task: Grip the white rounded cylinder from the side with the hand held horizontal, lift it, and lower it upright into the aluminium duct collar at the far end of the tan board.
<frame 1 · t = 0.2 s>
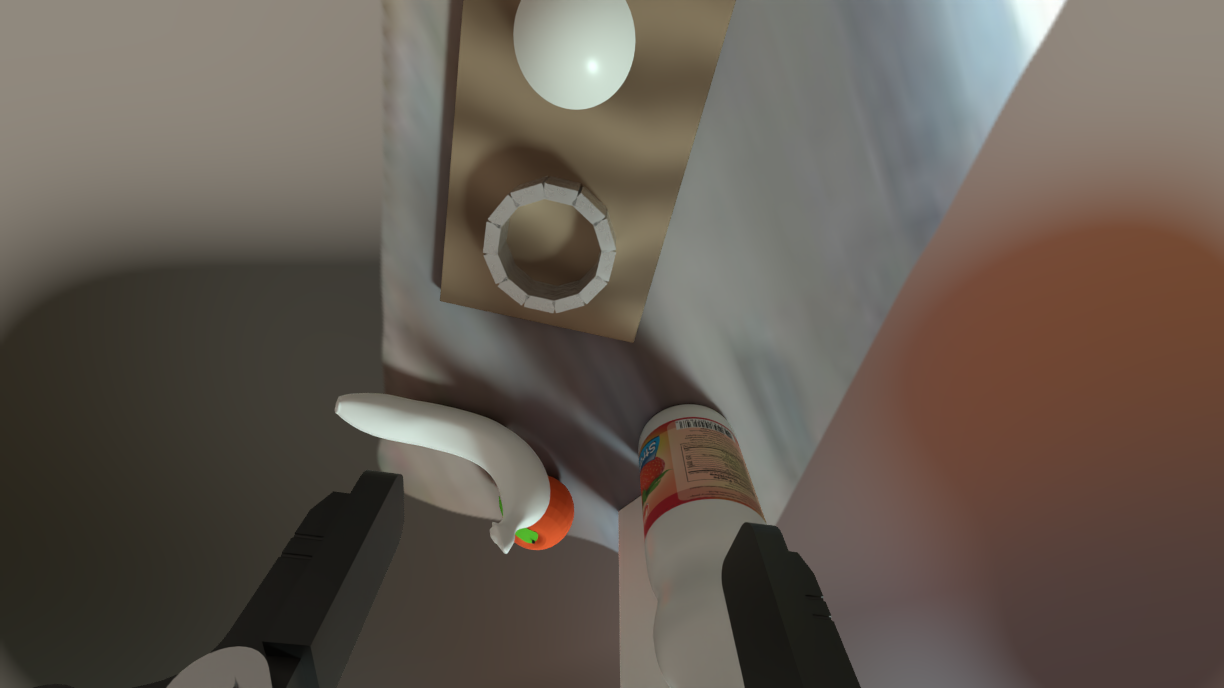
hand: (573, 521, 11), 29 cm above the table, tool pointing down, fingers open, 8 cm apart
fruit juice: (685, 438, 47), on the table
milk: (656, 509, 51), on the table
white rounded cylinder: (588, 59, 30), point 1 cm above the table, touching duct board
white bird figurine: (463, 412, 45), on the table
clementine: (539, 481, 49), on the table
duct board: (571, 155, 34), on the table
duct collar: (556, 235, 37), resting on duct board
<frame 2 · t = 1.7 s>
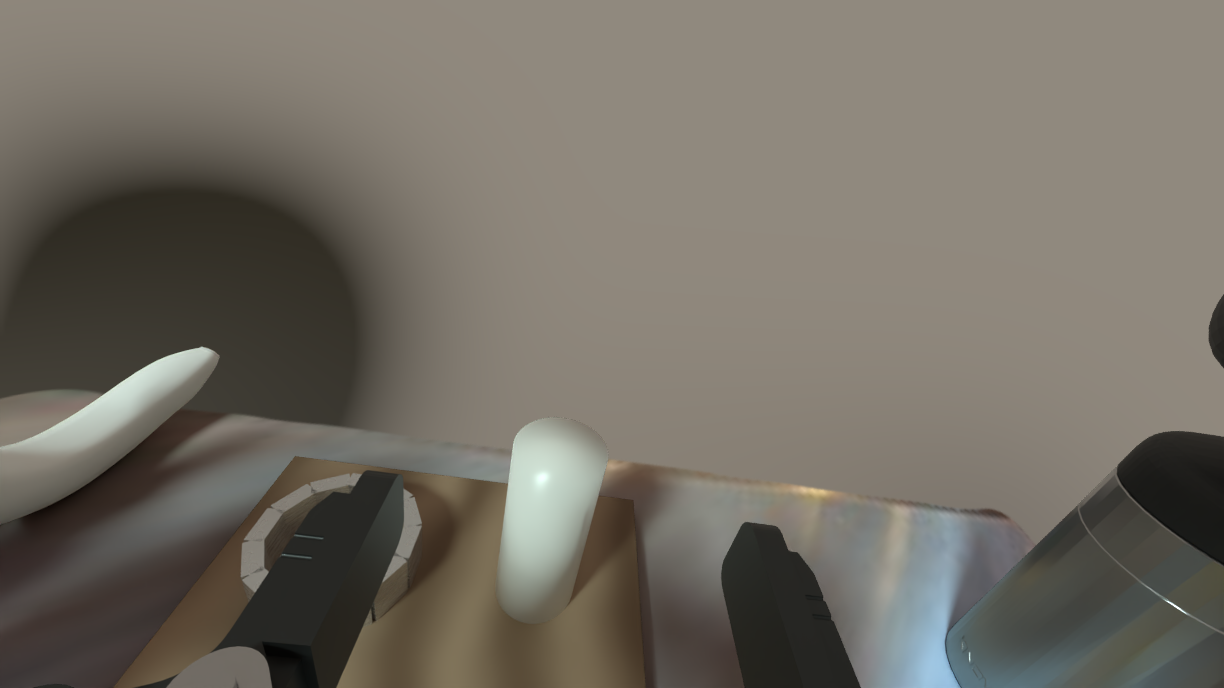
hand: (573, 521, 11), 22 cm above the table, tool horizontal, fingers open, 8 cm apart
white rounded cylinder: (534, 584, 31), point 1 cm above the table, touching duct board
white bird figurine: (95, 476, 33), on the table
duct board: (439, 588, 31), on the table
duct collar: (343, 578, 30), resting on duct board
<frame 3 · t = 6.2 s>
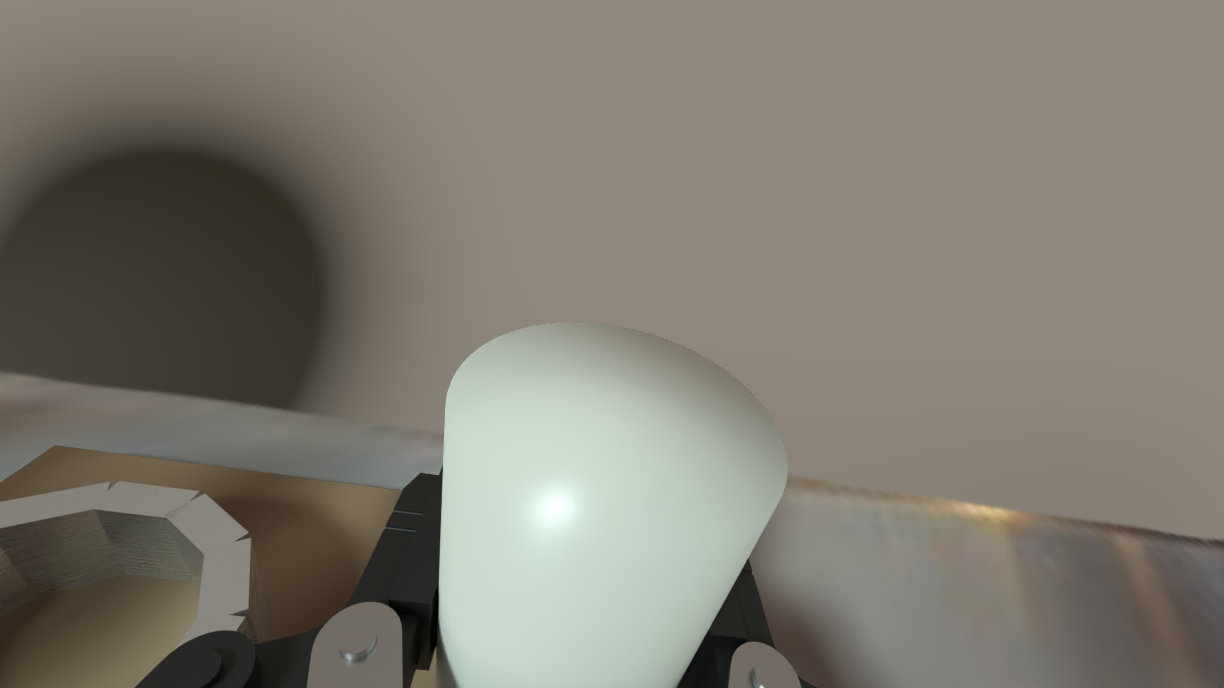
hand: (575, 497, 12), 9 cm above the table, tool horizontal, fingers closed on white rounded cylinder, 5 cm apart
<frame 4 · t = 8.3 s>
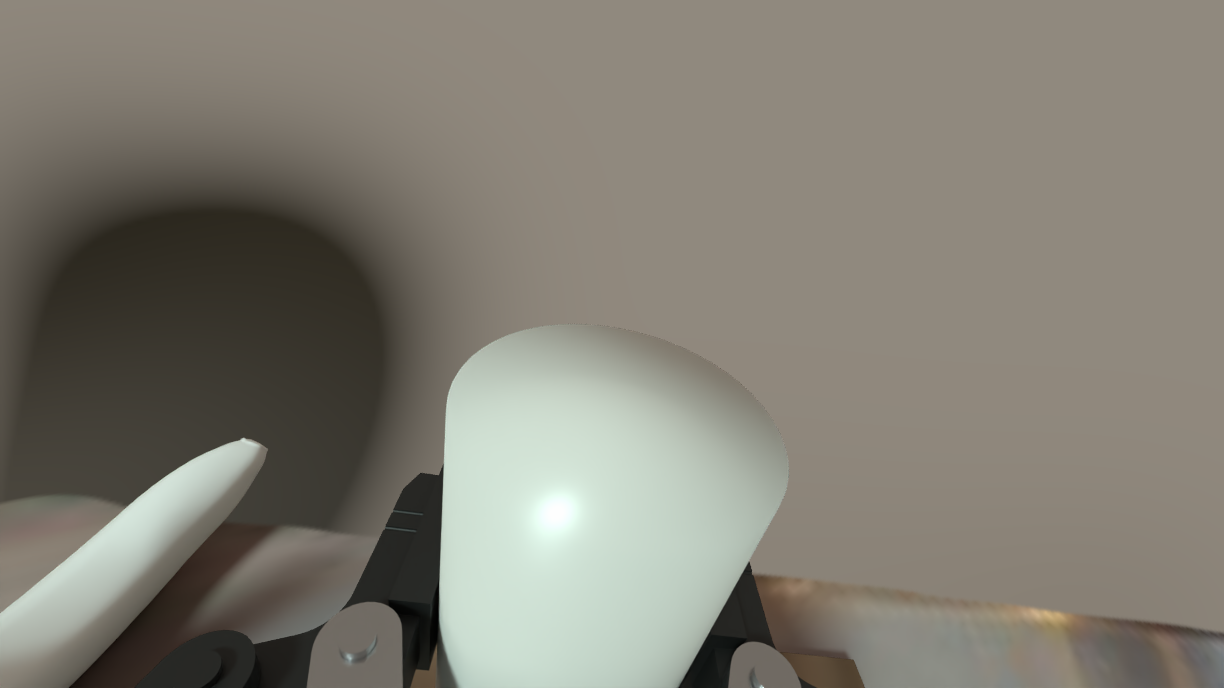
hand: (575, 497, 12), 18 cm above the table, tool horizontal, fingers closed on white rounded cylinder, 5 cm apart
white bird figurine: (91, 656, 22), on the table
when the fingers open (10 cm above the table, at t = 10.4 s): white rounded cylinder drops 1 cm, resting on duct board.
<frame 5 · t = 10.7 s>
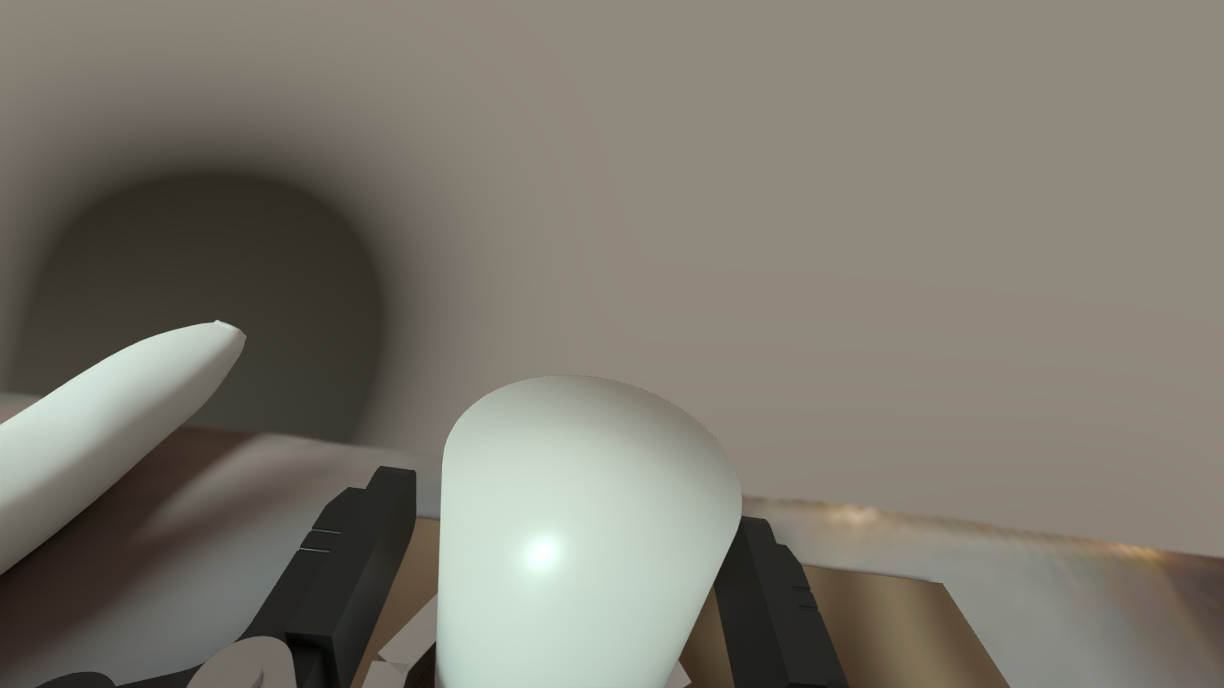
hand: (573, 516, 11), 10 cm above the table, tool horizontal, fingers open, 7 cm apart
white bird figurine: (16, 559, 17), on the table
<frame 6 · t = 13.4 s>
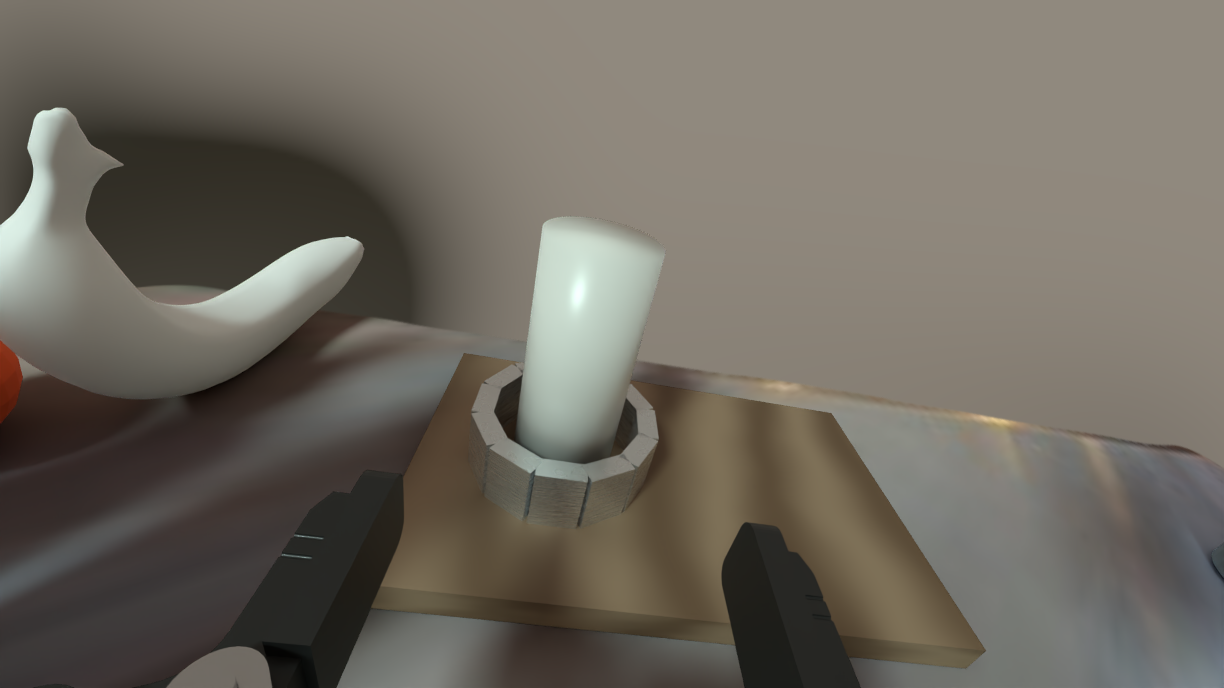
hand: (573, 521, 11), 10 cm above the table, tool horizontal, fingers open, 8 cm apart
white rounded cylinder: (560, 455, 25), point 1 cm above the table, touching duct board
white bird figurine: (249, 366, 28), on the table
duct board: (662, 489, 26), on the table
duct collar: (555, 474, 26), resting on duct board
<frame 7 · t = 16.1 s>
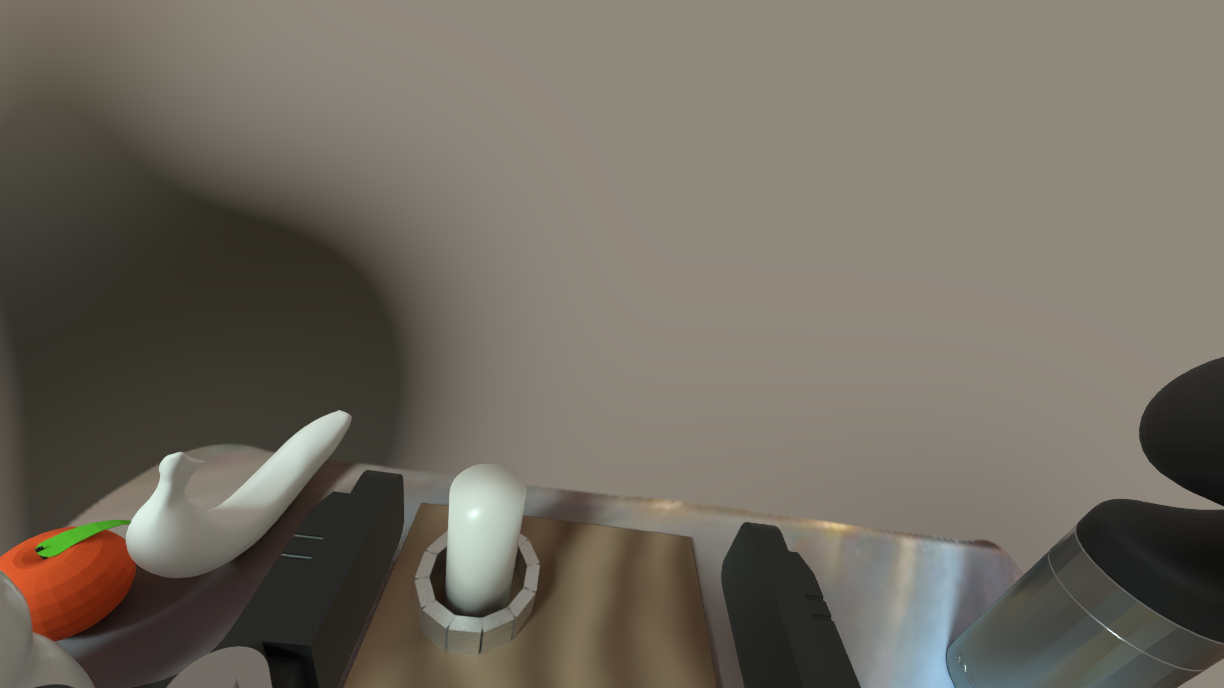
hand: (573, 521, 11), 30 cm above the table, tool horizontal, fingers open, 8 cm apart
white rounded cylinder: (477, 594, 38), point 1 cm above the table, touching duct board
white bird figurine: (270, 520, 41), on the table
clementine: (91, 608, 33), on the table
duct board: (549, 612, 39), on the table
duct collar: (476, 604, 39), resting on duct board
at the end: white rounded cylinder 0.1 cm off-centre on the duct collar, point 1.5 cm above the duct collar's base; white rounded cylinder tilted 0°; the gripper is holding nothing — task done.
